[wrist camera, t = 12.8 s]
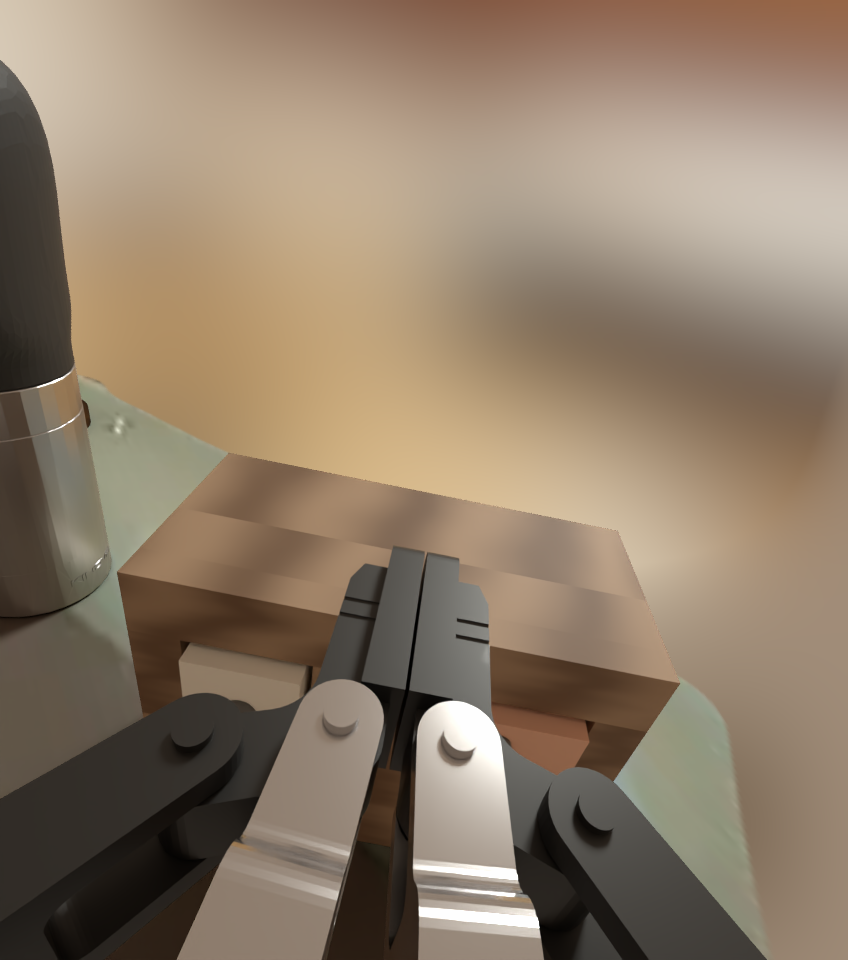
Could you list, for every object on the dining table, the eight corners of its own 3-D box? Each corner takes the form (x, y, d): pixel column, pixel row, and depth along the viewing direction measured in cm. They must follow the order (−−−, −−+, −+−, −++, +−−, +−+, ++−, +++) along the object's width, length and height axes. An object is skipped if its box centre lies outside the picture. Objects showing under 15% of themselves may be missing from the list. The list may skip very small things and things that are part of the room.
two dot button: (444, 788, 23) (469, 723, 20) (450, 690, 27) (470, 625, 25) (552, 809, 23) (590, 746, 20) (540, 707, 27) (569, 645, 25)
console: (159, 802, 28) (117, 571, 19) (234, 656, 36) (228, 453, 28) (547, 877, 28) (680, 683, 19) (531, 715, 37) (617, 530, 28)
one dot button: (184, 737, 23) (175, 665, 20) (232, 646, 27) (230, 578, 25) (293, 758, 23) (298, 689, 20) (323, 664, 27) (331, 598, 25)
